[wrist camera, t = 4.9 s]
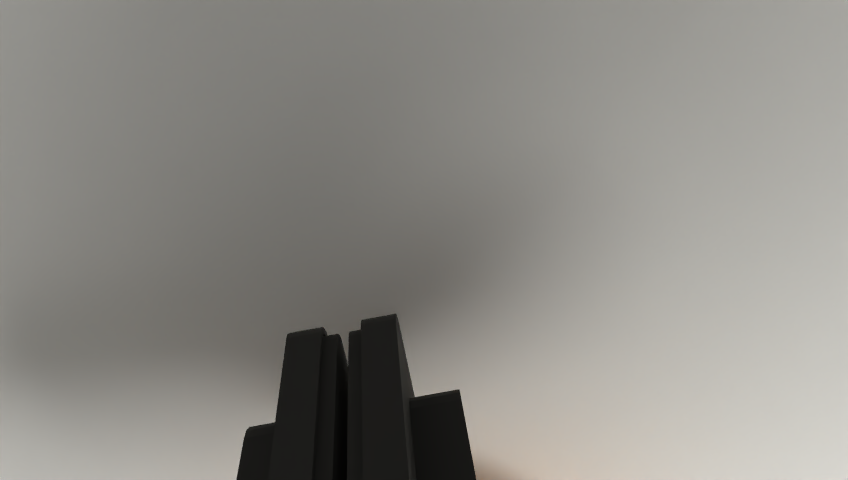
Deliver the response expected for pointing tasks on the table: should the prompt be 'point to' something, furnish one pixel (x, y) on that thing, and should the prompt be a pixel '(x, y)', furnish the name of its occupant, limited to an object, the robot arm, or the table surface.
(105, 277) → the table surface
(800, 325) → the table surface
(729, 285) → the table surface
